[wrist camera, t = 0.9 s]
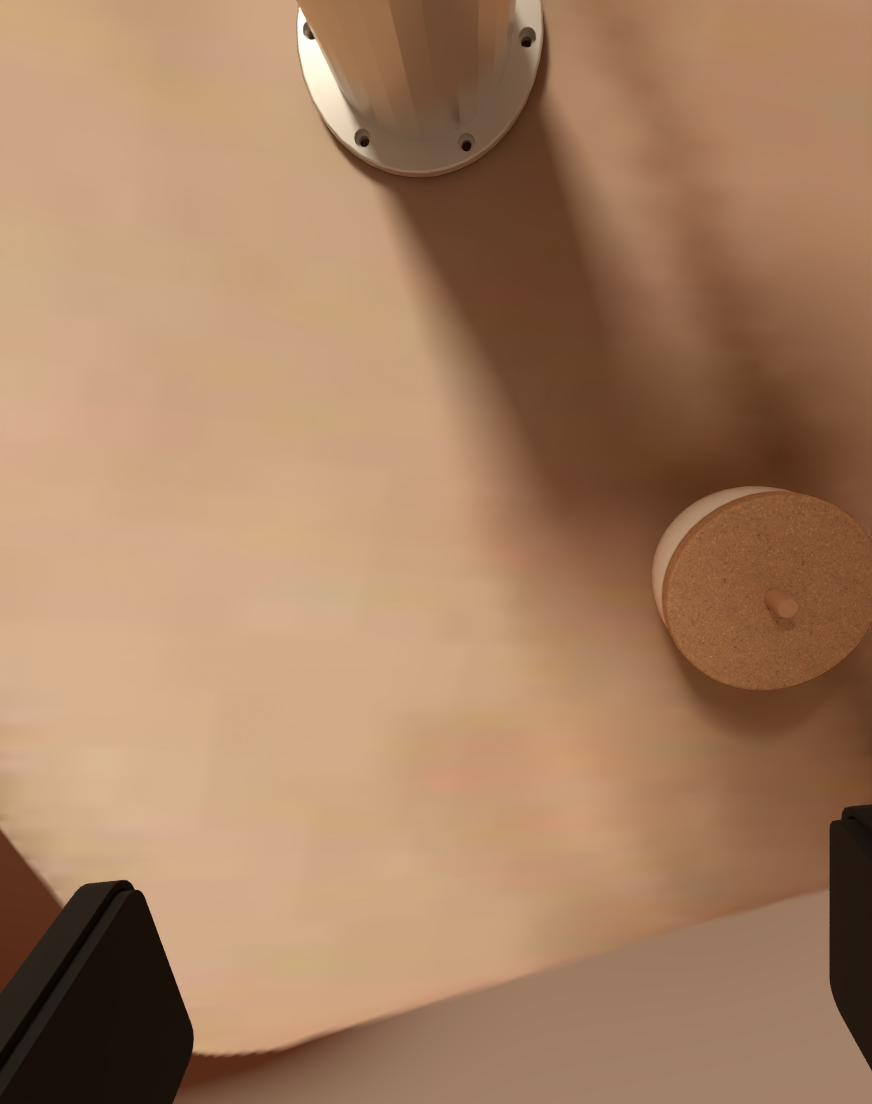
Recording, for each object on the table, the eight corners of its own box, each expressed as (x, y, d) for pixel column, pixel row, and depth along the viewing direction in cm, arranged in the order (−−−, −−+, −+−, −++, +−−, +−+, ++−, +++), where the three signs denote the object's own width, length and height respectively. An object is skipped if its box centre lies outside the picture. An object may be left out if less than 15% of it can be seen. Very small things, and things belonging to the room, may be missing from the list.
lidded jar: (697, 437, 39) (764, 458, 30) (844, 524, 40) (953, 569, 31) (598, 585, 42) (633, 645, 33) (738, 662, 43) (809, 741, 34)
